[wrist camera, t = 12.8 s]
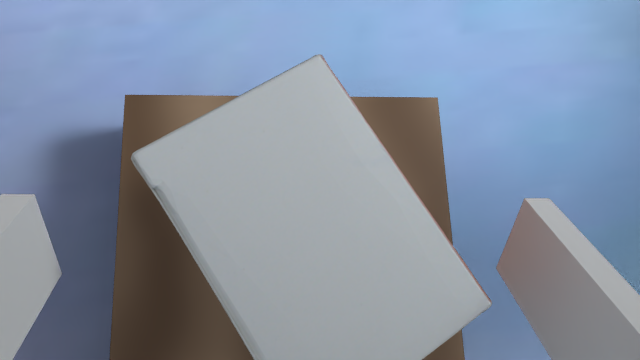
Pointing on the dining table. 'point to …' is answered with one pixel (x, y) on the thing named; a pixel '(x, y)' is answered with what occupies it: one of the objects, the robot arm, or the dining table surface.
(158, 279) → the walnut block
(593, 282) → the robot arm
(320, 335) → the small box
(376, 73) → the dining table surface
